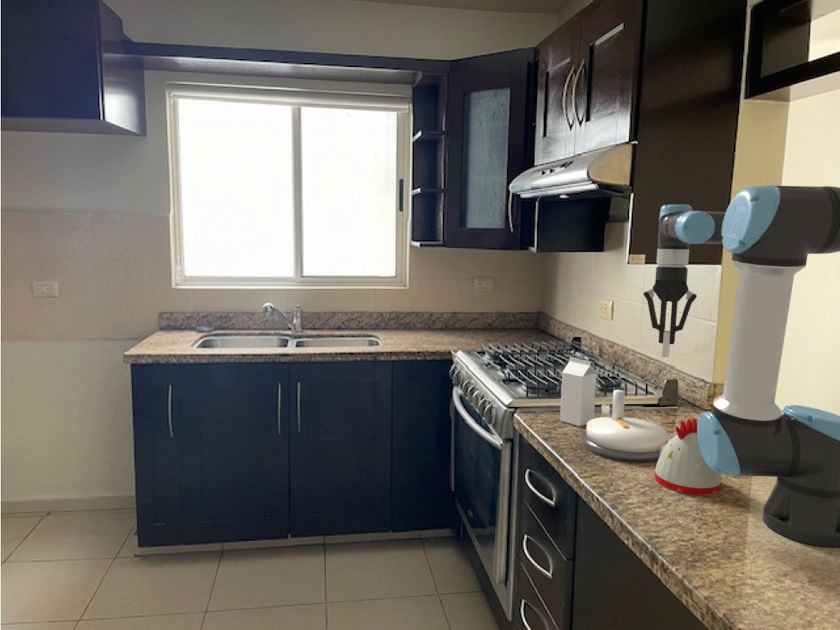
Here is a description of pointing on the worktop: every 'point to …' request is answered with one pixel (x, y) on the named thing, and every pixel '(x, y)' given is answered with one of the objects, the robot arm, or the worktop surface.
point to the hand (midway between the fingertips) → (665, 356)
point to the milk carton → (578, 392)
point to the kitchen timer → (686, 464)
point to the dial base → (618, 454)
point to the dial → (625, 431)
